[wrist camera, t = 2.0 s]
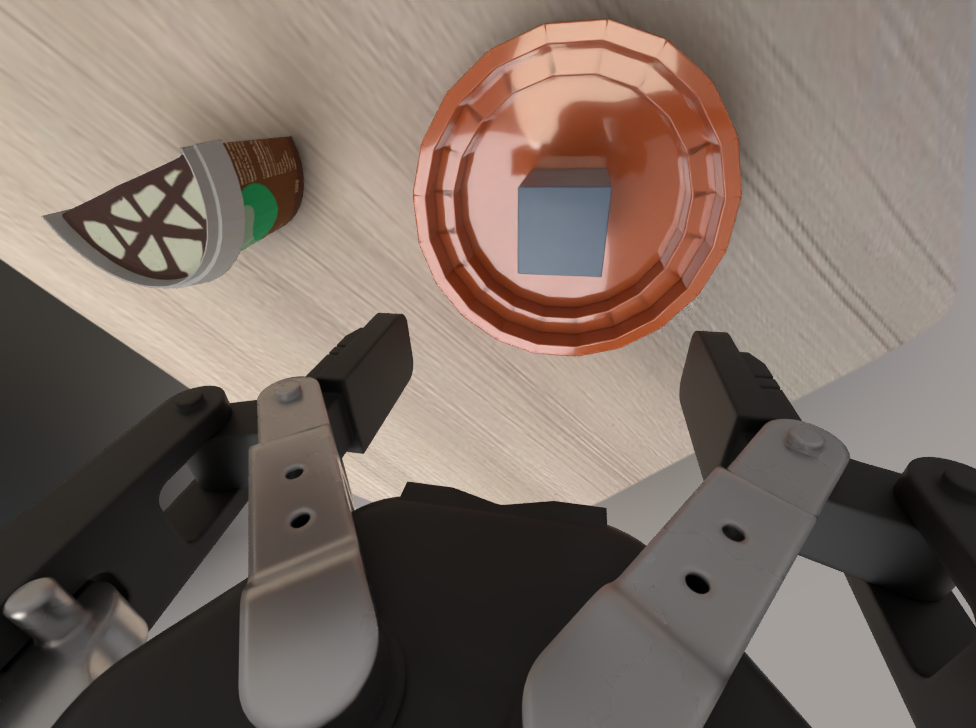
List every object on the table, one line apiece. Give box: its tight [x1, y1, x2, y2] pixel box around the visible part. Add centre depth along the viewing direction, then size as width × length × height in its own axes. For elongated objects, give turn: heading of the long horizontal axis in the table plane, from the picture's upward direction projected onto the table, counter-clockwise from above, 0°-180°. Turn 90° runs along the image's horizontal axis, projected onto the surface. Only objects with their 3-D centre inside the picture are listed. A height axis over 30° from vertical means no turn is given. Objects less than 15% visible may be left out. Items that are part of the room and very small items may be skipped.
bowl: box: [413, 19, 742, 356], centre depth 25 cm, size 18×18×4 cm
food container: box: [41, 136, 304, 288], centre depth 27 cm, size 12×6×10 cm, turn 109°
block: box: [518, 168, 612, 277], centre depth 24 cm, size 4×4×6 cm
